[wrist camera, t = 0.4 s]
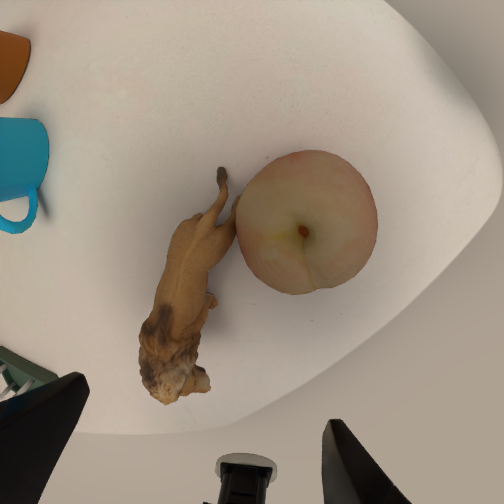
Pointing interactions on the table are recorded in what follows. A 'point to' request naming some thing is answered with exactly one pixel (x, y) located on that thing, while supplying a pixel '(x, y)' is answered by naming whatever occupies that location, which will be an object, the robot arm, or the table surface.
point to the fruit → (306, 222)
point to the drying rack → (21, 373)
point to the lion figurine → (184, 303)
